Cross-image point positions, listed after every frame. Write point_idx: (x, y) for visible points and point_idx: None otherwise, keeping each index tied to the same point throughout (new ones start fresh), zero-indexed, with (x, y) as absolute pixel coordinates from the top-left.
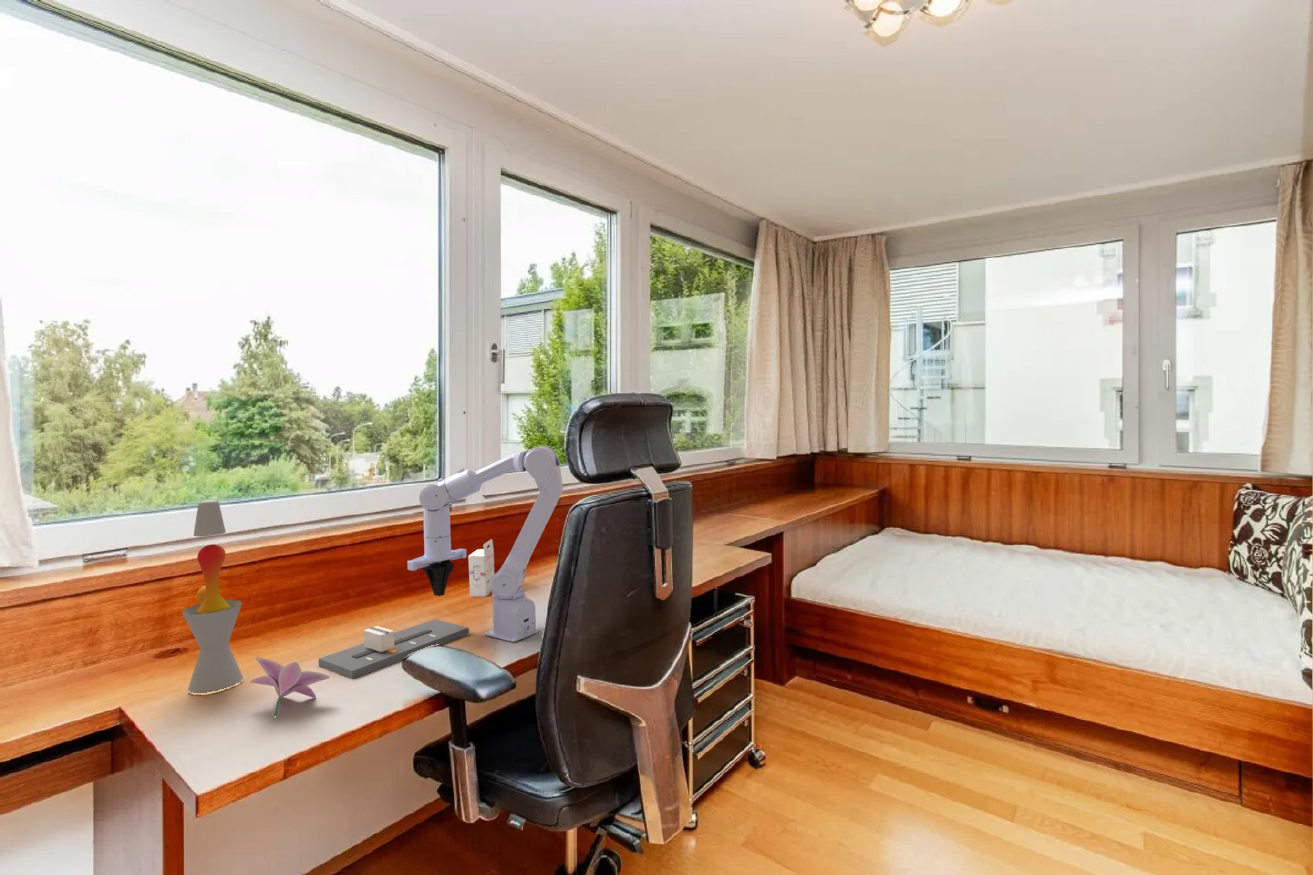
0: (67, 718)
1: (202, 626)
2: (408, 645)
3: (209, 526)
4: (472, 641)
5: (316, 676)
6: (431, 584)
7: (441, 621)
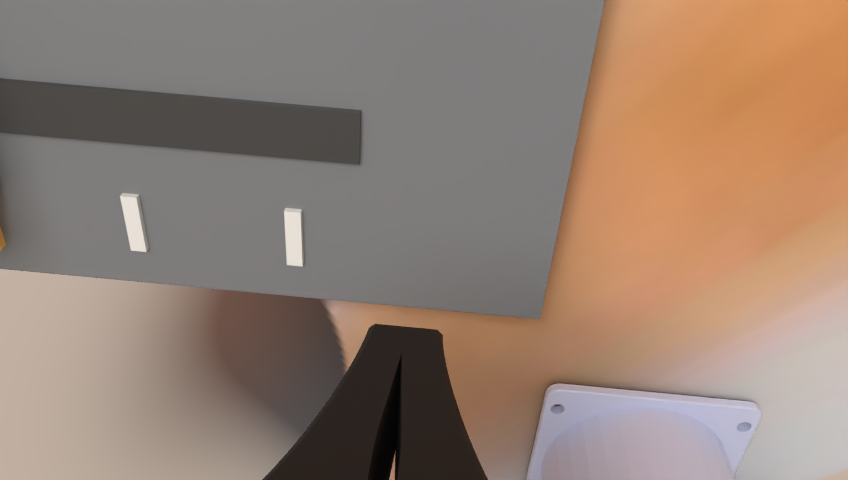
0: None
1: None
2: (100, 221)
3: None
4: None
5: None
6: (327, 410)
7: (579, 42)
